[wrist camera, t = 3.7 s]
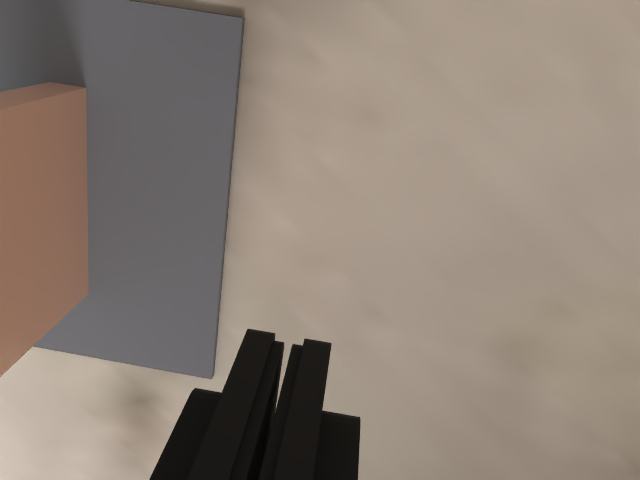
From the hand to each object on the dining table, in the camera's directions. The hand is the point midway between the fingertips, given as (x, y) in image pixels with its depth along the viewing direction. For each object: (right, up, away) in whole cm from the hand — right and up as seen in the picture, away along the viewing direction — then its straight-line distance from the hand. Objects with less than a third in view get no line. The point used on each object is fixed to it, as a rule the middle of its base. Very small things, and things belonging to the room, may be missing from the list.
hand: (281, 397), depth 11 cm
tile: (-9, +5, +10) cm, 14 cm away
